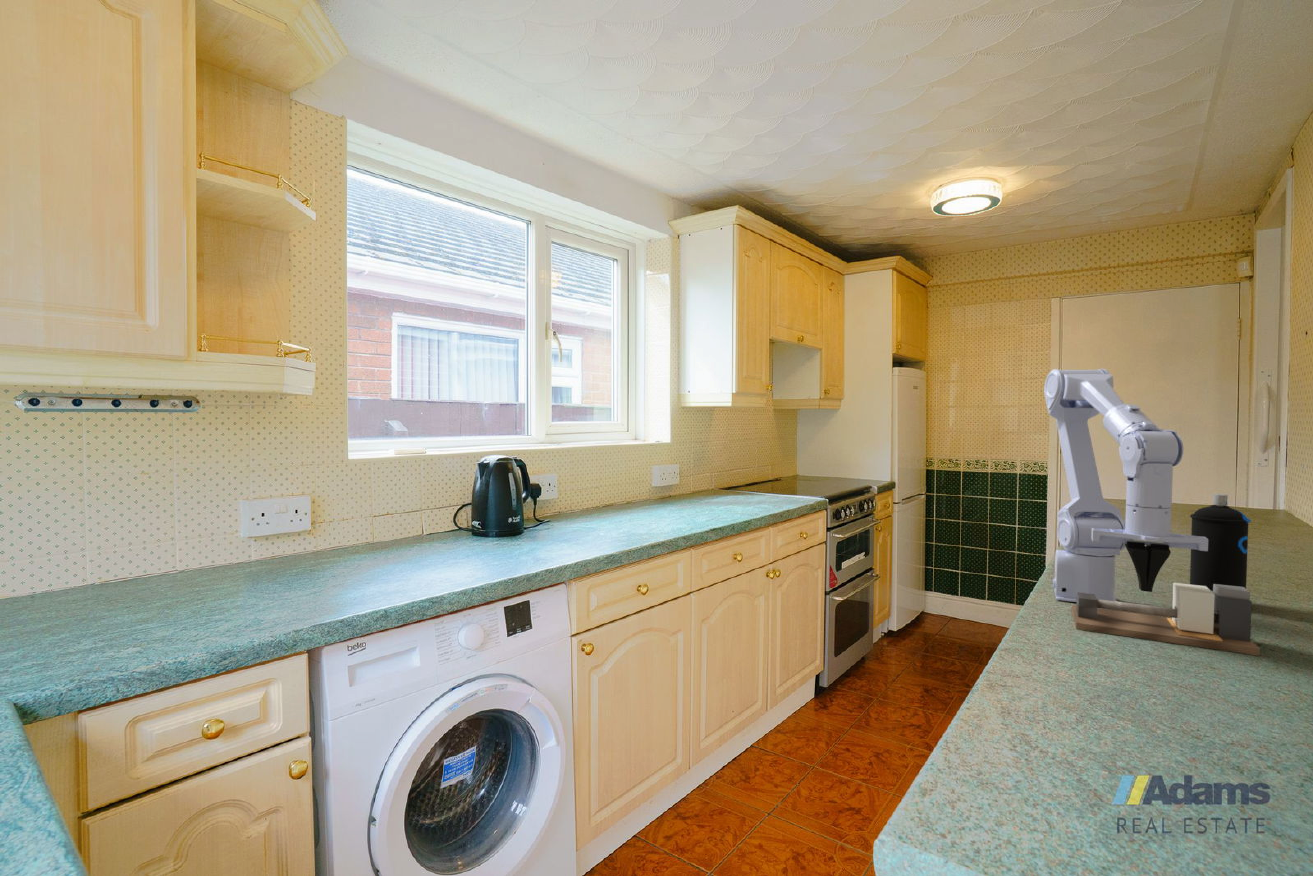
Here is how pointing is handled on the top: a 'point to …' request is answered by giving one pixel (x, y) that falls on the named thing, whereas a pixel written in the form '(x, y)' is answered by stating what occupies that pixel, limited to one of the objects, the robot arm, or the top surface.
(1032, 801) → the top surface
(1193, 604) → the sleeve
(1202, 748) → the top surface
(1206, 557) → the aerosol can
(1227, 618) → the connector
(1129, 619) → the rail board
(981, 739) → the top surface
